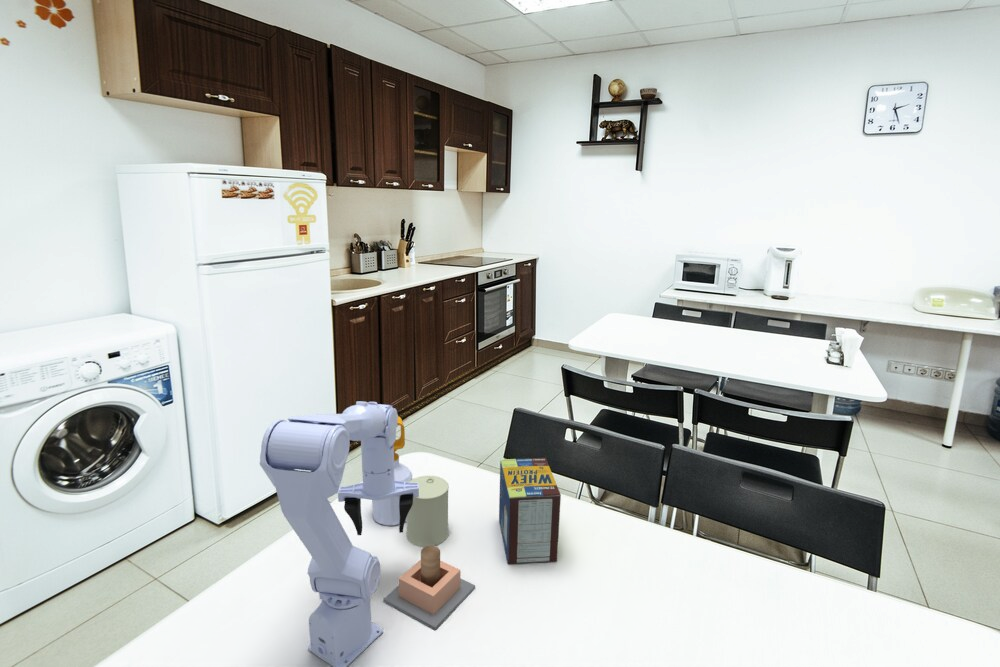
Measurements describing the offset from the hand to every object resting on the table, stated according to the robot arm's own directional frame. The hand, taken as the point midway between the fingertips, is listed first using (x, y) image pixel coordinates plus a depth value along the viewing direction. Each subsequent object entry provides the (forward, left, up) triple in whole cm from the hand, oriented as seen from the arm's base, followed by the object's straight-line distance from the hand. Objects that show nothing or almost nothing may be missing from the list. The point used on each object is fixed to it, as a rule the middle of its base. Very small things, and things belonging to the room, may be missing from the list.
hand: (380, 530), depth 101 cm
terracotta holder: (+1, -11, -10) cm, 15 cm away
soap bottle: (+16, +12, -10) cm, 22 cm away
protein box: (+25, -18, -10) cm, 32 cm away
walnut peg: (+1, -11, -9) cm, 14 cm away
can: (+15, +1, -10) cm, 18 cm away
